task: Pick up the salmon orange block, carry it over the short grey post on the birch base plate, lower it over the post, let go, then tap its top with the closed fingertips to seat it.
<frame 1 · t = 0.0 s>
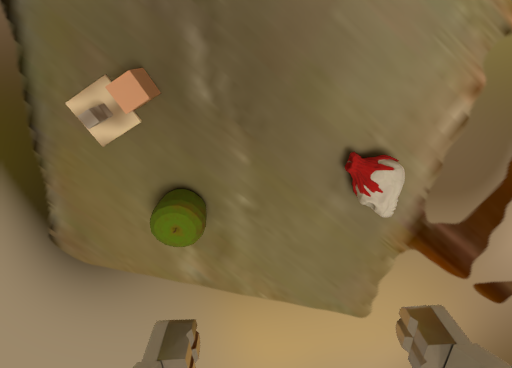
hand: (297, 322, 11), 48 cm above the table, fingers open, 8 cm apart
salmon orange block: (141, 88, 52), on the table
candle: (366, 171, 61), on the table
post stand: (105, 112, 54), on the table
apple: (185, 205, 64), on the table
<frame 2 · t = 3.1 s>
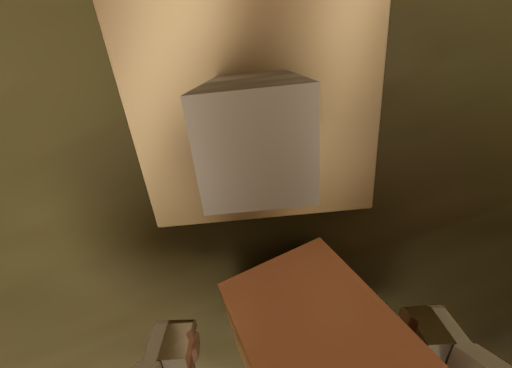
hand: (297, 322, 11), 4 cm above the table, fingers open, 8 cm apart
salmon orange block: (276, 294, 14), point 1 cm above the table, tilted 24°
post stand: (253, 106, 11), on the table
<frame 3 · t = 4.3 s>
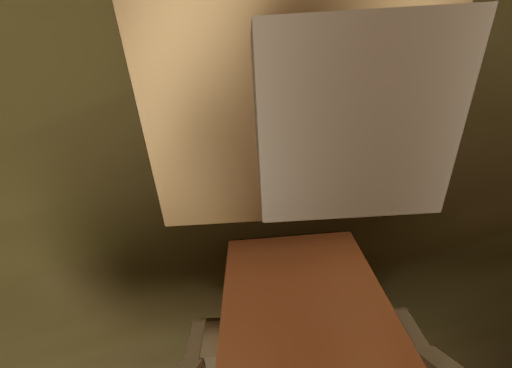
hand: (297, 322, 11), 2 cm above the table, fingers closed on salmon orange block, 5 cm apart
salmon orange block: (290, 281, 13), on the table, touching gripper
post stand: (291, 81, 9), on the table
when the fingers open (4 cm above the table, at t = 9.1 s): salmon orange block drops 1 cm, resting on post stand.
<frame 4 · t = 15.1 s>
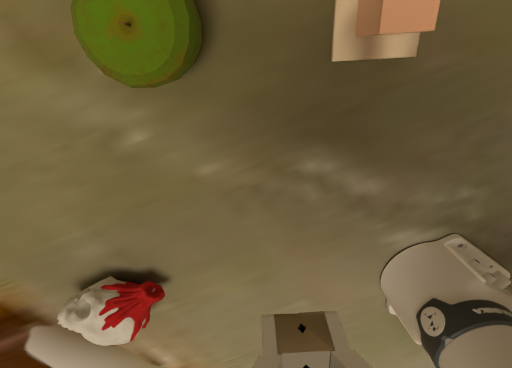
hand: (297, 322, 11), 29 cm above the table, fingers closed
salmon orange block: (380, 9, 31), point 1 cm above the table, touching post stand
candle: (129, 287, 49), on the table
post stand: (377, 10, 32), on the table
apple: (159, 30, 32), on the table
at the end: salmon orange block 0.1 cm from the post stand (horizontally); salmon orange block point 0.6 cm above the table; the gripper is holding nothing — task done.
